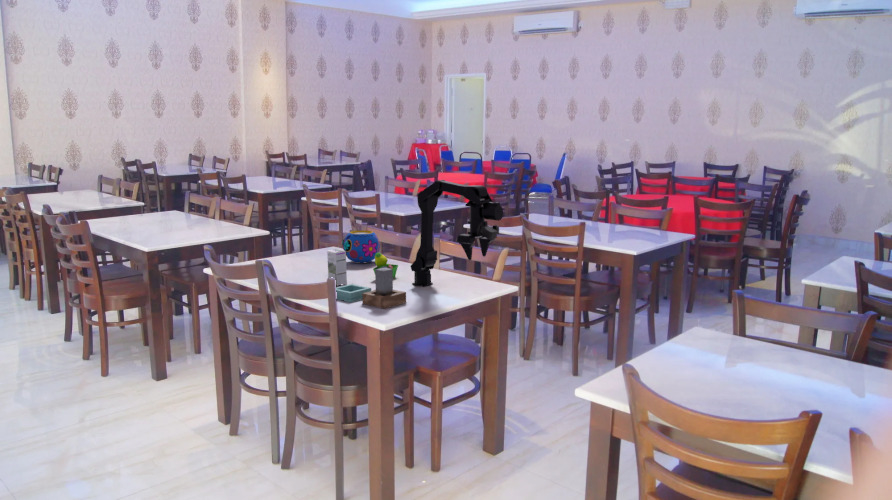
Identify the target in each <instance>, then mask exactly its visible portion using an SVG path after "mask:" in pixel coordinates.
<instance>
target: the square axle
mask: <svg viewBox="0 0 892 500" xmlns="http://www.w3.org/2000/svg"><path fill="white" fill-rule="evenodd" d="M374 275H375V290H376V295H381V296H387V295H391V294H393V290H394V289H393V288H394V287H393V286H394V284H393V278H394V277H393V273H392V269H389V268H380V269H375V273H374Z"/></svg>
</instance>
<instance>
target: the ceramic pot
mask: <svg viewBox="0 0 892 500" xmlns="http://www.w3.org/2000/svg"><path fill="white" fill-rule="evenodd" d="M341 245H342V250H344V251H346V259H348V260H350V261H351V262H353V263H356V262H360V263H359V264H365V263H364V262H367V263H370V262H372V261H373V260H374V261H375V254H376V253H380V250H381V249H380V248H381V245H380V239H379V238H378V236H377V234H376V233H375V232H374V231H372V230H365V229H364V230H363V229H362V230H351V231H349V232H348V233H347V234H346V236H345V237H344V238H342V241H341Z"/></svg>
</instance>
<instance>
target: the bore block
mask: <svg viewBox="0 0 892 500" xmlns="http://www.w3.org/2000/svg"><path fill="white" fill-rule="evenodd" d="M362 297H363V299H362V304H363V305H366V306H371V307H375V308H380V309H383V310H386V309H389V308H392V307H396V306H399V305H403V304H406V303H407V292H406V291H402V290H397V289H393V294H391V295H387V296H381V295H376V289H374V290H371V291H370V292H366V293H362Z"/></svg>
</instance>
